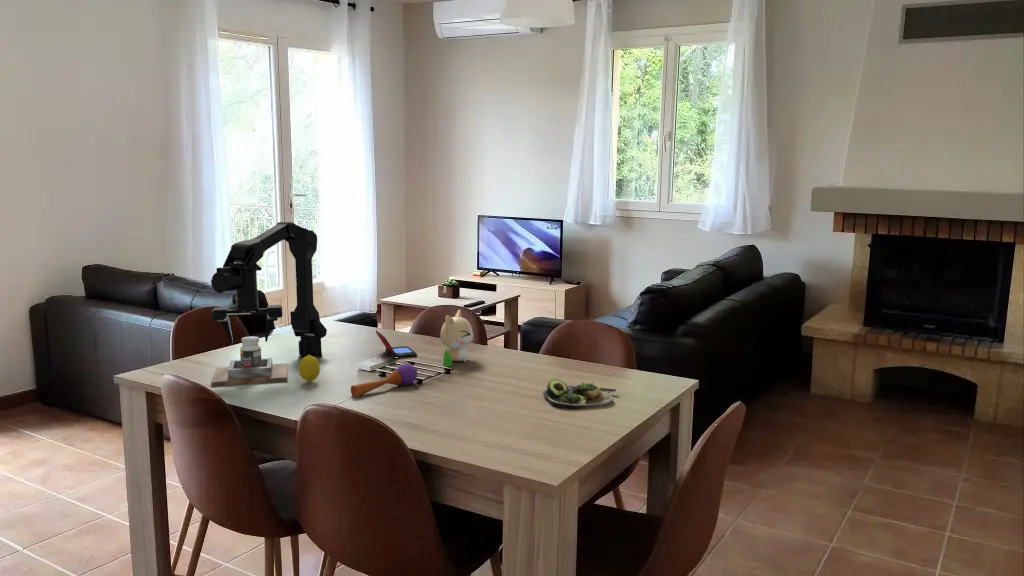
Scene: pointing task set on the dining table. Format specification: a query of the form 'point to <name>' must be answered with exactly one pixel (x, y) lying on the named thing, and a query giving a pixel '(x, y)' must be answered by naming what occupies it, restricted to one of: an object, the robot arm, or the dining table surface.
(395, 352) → the handheld game console
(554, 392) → the salad plate
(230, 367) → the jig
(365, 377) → the dining table surface
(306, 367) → the lemon
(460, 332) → the kitten
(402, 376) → the purple and orange maraca
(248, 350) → the pill bottle
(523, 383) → the dining table surface
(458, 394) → the dining table surface
